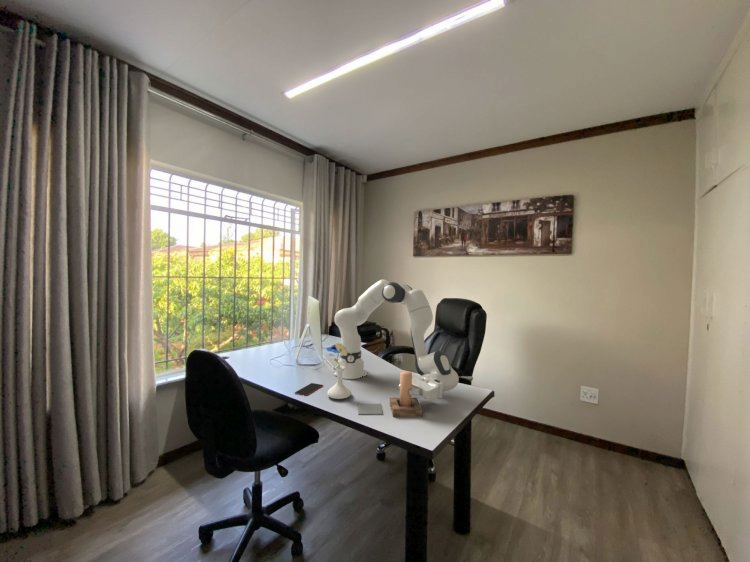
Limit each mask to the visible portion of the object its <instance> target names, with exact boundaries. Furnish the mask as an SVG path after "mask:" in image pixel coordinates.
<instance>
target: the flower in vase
mask: <svg viewBox="0 0 750 562" xmlns="http://www.w3.org/2000/svg"><path fill="white" fill-rule="evenodd" d="M334 345H335V349H336V351H338V353H337V356H336V357H334V359H333V361H335V362H336V364H337V363H338V361H339V359H338V358H339V355H340V354H342V355H344V356H346V355H347V353H348V352H347V350H346V347H344V346H343V345H342V343H340V342H338V341H337V342H336V343H335V344H334ZM343 362H344V361H343ZM341 363H342V362H341ZM341 363H338V364H337V366H335V367H334V369H335V370H336V371H337V376H336V377H337V380H336V383H335V384H334V385H333V386H331V387H330V388H329V389H328V390H327V393H326V394H327V396H328V397H330V398H331V399H334V400H335V399H336V400H344V399H348V398H349V397H350V396H351V395H352V390H351V388H349V387H348V386H347V385H346V384H344V382H343V378H342V374H343V371H344V369H345V367H344V366H338V365H339V364H341ZM336 371H335V372H336Z"/></svg>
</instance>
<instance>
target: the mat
mask: <svg viewBox="0 0 750 562" xmlns="http://www.w3.org/2000/svg"><path fill="white" fill-rule="evenodd" d="M357 404H358V407H357V409H358V410H357V411H358V413H357V414H358V416H361V415H362V416H368V415H369V416H373V415H374V414H381V416H382V415H383V414H384V412H383V408H382V403H357ZM370 414H371V415H370Z"/></svg>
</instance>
